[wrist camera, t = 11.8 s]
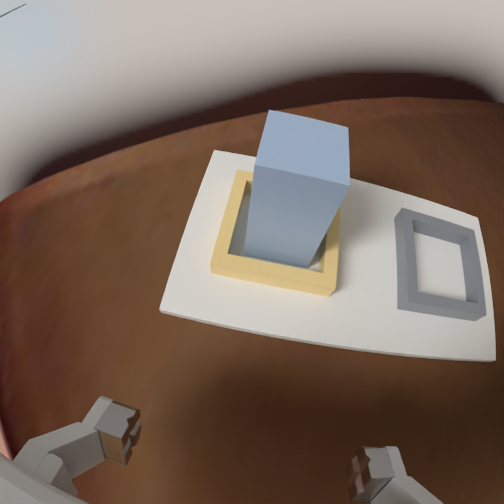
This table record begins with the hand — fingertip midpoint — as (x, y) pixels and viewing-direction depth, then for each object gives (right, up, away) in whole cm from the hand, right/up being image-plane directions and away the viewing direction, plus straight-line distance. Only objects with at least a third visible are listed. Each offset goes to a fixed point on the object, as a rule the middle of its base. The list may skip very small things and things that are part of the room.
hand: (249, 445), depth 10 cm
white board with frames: (+8, +6, +11) cm, 15 cm away
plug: (+2, +8, +11) cm, 14 cm away
